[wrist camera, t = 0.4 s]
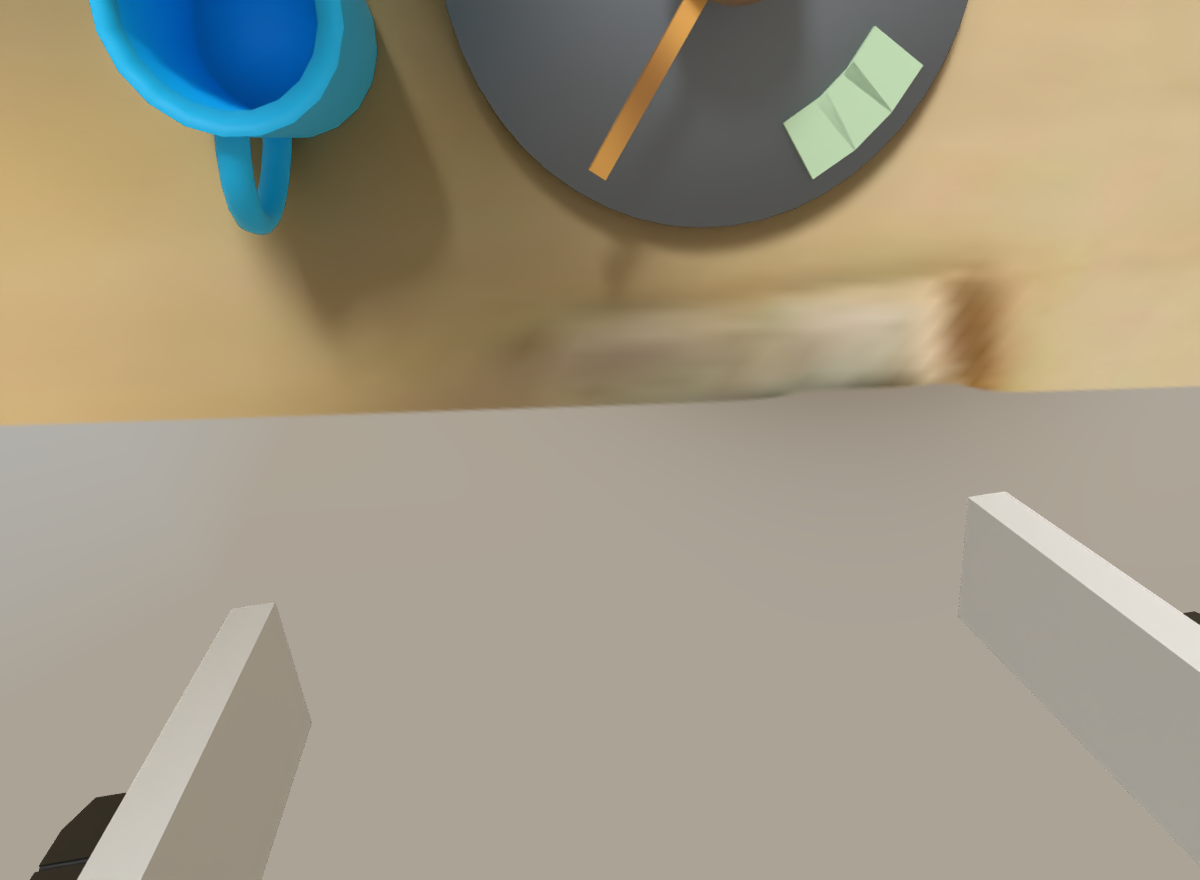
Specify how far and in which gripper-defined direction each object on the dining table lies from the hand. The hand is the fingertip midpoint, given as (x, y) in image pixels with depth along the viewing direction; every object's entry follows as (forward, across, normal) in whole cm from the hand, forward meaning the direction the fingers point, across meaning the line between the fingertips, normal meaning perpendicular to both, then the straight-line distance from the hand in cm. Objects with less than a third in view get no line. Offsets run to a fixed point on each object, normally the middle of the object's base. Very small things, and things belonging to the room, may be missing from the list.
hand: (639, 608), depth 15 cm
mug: (+27, -10, +12) cm, 31 cm away
